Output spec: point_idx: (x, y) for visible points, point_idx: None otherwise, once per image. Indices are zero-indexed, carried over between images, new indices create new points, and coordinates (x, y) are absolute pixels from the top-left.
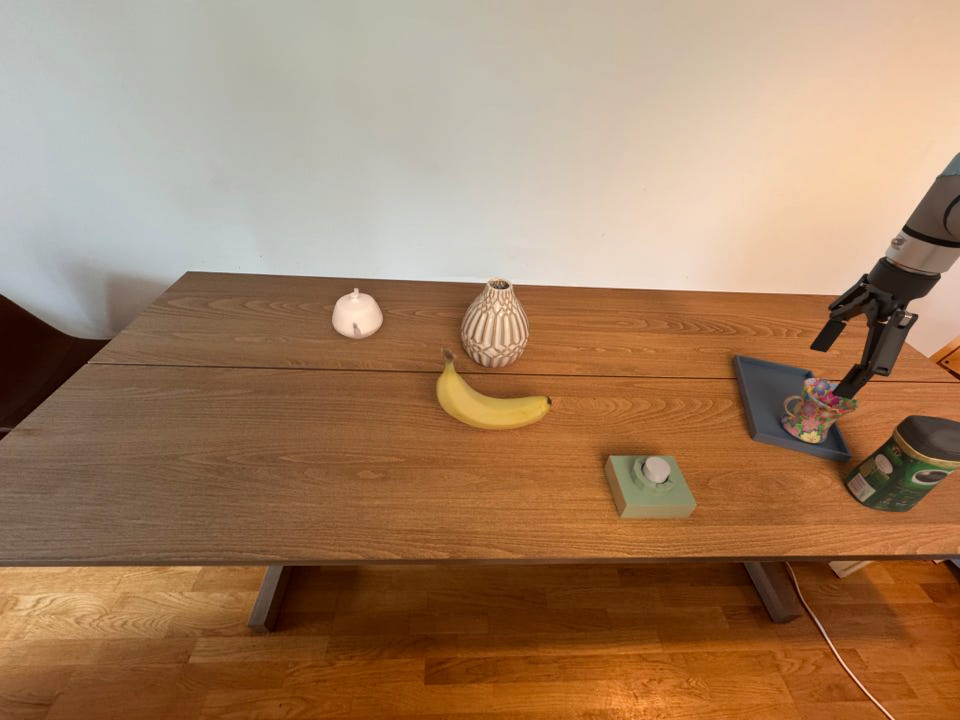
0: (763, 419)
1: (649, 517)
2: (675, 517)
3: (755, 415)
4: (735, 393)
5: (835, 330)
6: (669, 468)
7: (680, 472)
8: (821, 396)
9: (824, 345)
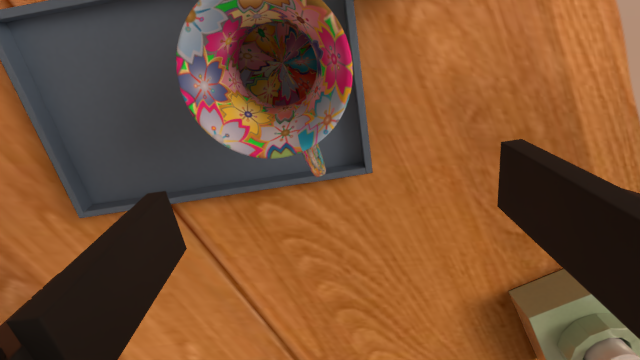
0: None
1: None
2: None
3: (289, 162)
4: (225, 197)
5: (101, 303)
6: (622, 356)
7: (566, 305)
8: (220, 63)
9: (159, 233)
